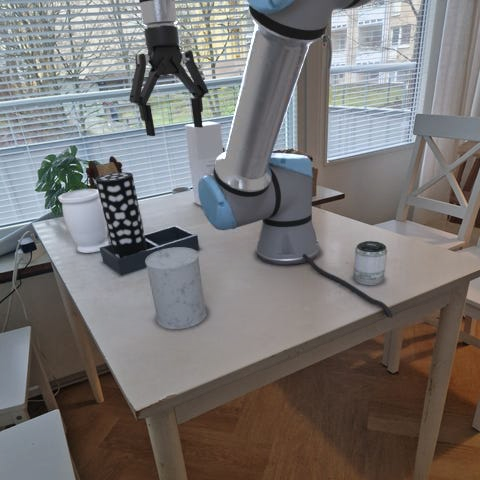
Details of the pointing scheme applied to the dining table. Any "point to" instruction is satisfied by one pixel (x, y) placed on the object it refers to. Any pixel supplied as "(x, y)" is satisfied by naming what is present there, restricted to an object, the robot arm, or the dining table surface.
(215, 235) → the dining table surface
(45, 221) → the dining table surface
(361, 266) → the camera lens
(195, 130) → the tall white carton
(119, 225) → the white-spotted black cylinder
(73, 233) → the jar
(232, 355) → the dining table surface
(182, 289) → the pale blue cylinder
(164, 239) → the divided tray
